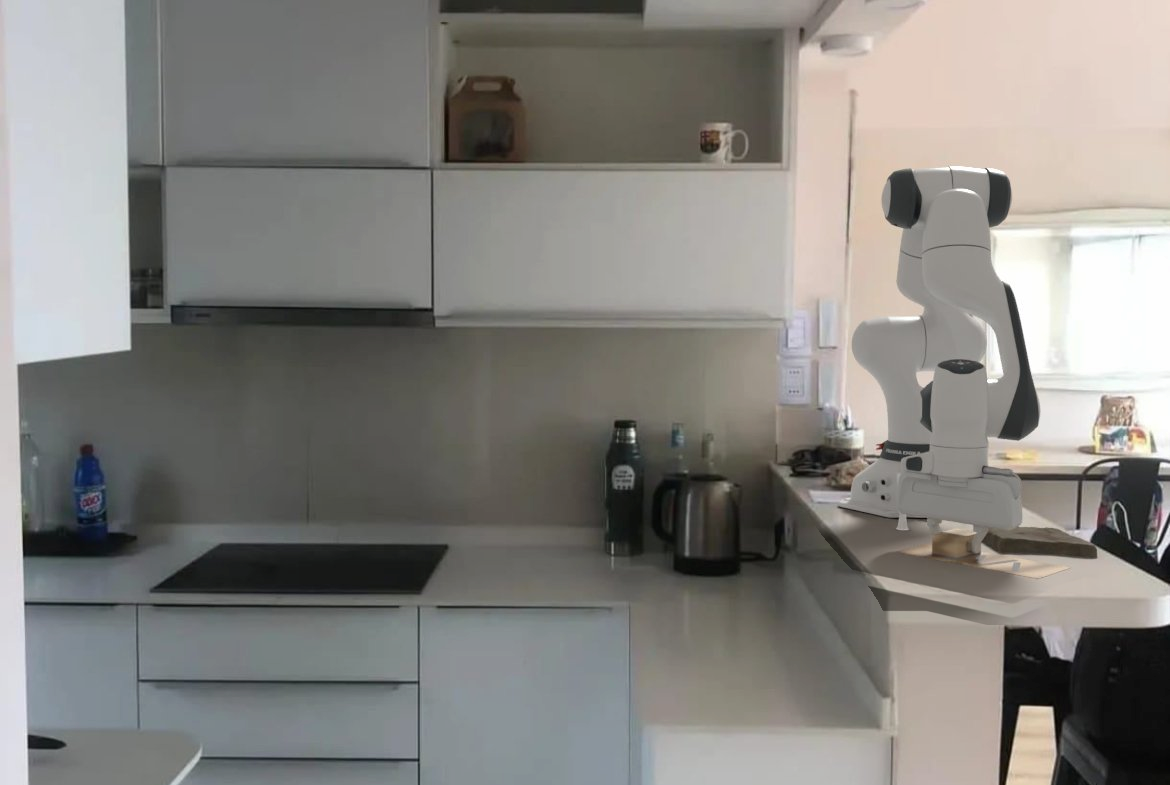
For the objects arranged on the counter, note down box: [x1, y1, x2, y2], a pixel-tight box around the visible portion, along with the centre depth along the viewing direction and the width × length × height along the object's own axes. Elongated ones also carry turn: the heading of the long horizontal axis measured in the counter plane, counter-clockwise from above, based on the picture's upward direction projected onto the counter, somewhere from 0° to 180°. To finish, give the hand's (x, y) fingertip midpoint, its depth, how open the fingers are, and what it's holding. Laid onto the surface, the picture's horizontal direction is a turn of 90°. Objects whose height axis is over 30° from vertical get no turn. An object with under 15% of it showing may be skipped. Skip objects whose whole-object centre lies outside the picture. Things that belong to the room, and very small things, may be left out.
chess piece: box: [895, 507, 910, 532], centre depth 194 cm, size 5×5×10 cm
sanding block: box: [931, 528, 982, 561], centre depth 174 cm, size 4×7×4 cm, turn 131°
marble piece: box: [981, 526, 1098, 559], centre depth 181 cm, size 17×15×4 cm
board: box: [894, 542, 1070, 580], centre depth 171 cm, size 24×10×2 cm, turn 41°
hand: (956, 549), depth 174 cm, fingers closed on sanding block, 4 cm apart
